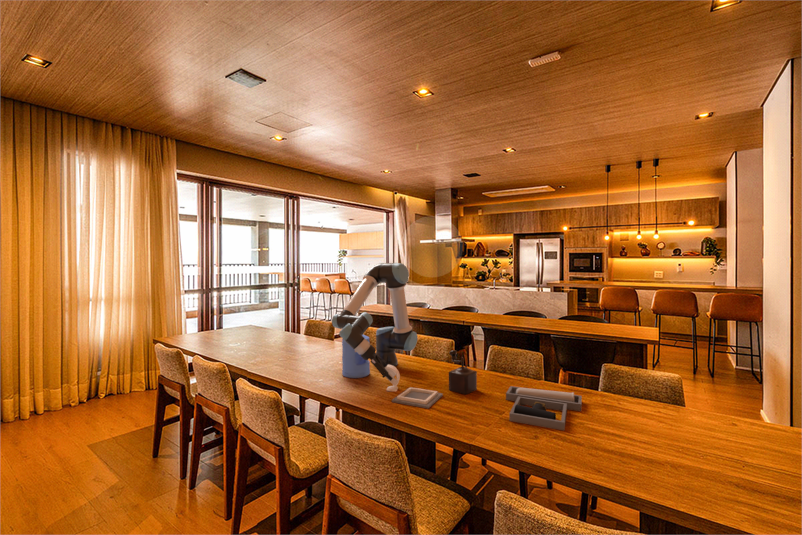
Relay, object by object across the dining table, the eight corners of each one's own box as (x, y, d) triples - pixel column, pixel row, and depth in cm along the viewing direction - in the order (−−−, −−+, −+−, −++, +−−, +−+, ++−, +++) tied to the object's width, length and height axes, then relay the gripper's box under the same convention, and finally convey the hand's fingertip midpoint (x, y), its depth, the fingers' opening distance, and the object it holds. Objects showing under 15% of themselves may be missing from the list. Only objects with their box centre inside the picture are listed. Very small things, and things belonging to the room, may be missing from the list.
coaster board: (408, 389, 187) (408, 385, 187) (442, 395, 179) (442, 390, 179) (391, 402, 171) (391, 397, 171) (428, 408, 163) (428, 403, 163)
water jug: (337, 377, 209) (337, 327, 208) (349, 369, 224) (349, 322, 223) (363, 379, 204) (363, 328, 204) (373, 371, 219) (373, 323, 219)
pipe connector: (522, 397, 162) (559, 404, 154) (522, 409, 162) (559, 417, 154) (514, 406, 153) (552, 414, 144) (514, 419, 153) (552, 428, 144)
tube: (515, 391, 174) (574, 397, 165) (515, 384, 179) (573, 390, 169) (515, 401, 176) (574, 407, 166) (516, 393, 180) (573, 400, 171)
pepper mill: (478, 389, 188) (478, 353, 188) (466, 395, 180) (466, 357, 180) (452, 382, 199) (452, 348, 198) (439, 387, 190) (439, 352, 190)
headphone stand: (388, 388, 190) (388, 364, 190) (399, 388, 189) (399, 364, 189) (386, 391, 186) (386, 366, 186) (398, 391, 185) (398, 367, 185)
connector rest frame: (518, 402, 170) (518, 396, 169) (566, 410, 161) (566, 403, 161) (509, 420, 150) (509, 413, 150) (564, 430, 141) (564, 422, 141)
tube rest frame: (510, 392, 184) (510, 386, 184) (581, 402, 170) (581, 395, 170) (506, 399, 173) (506, 393, 173) (581, 411, 160) (581, 404, 160)
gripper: (361, 349, 199) (389, 377, 200) (358, 361, 174) (391, 393, 175) (371, 339, 199) (399, 367, 200) (370, 350, 174) (402, 381, 175)
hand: (395, 379), depth 187 cm, fingers open, 13 cm apart
